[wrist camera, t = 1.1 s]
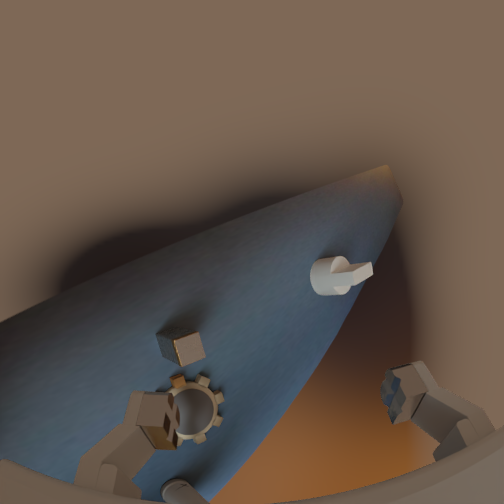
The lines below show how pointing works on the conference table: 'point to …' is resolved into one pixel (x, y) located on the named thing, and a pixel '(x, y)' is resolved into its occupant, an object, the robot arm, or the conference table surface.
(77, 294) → the conference table surface
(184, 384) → the toothed wheel
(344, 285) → the base with upright slab
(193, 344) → the link block
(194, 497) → the travel mug
